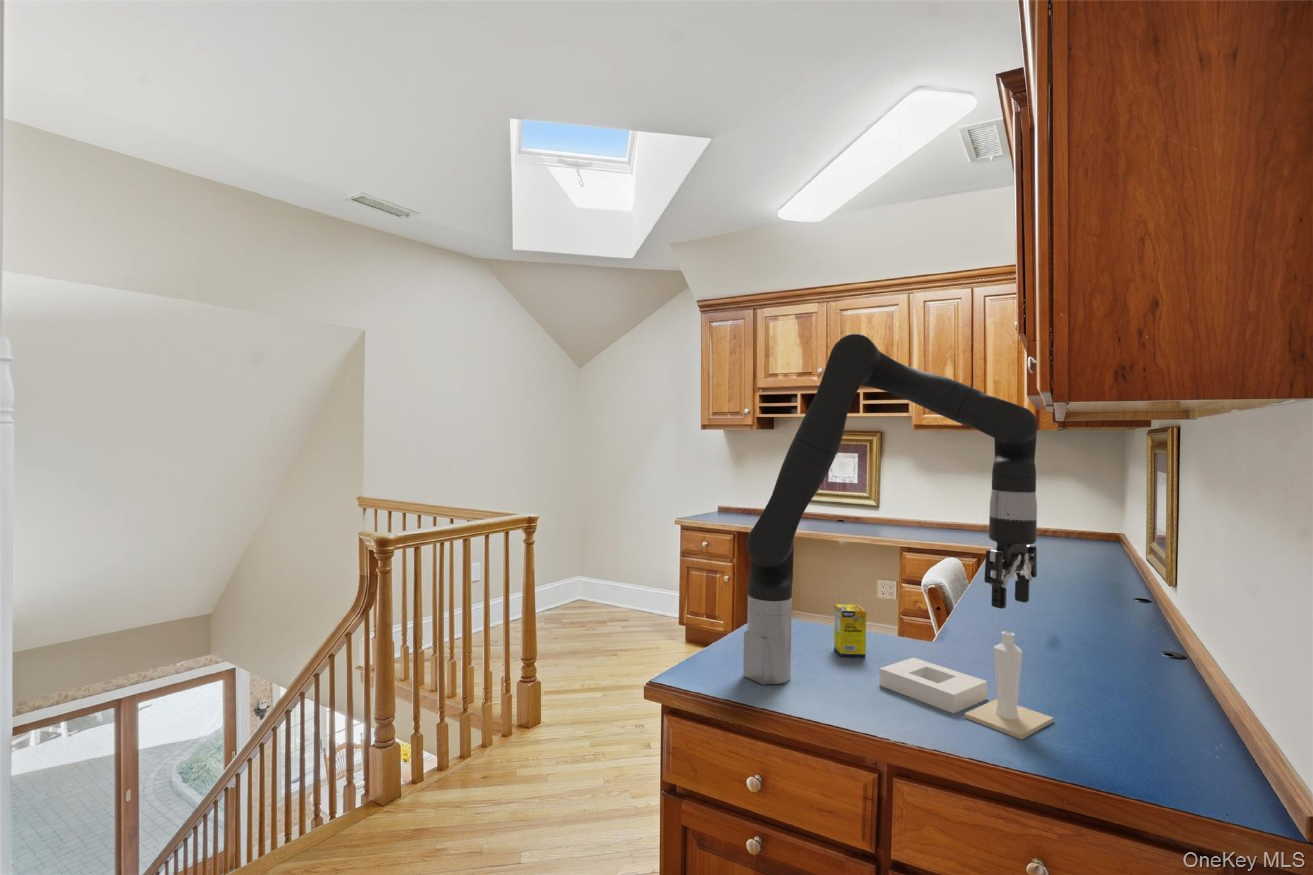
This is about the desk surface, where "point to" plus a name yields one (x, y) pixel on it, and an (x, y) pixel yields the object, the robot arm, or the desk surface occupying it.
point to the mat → (1009, 720)
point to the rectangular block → (934, 684)
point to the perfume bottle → (1007, 676)
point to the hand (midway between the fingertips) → (1010, 604)
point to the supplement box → (850, 631)
